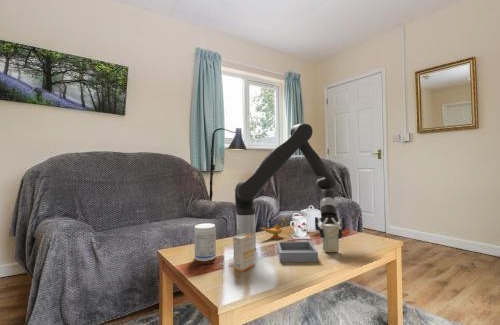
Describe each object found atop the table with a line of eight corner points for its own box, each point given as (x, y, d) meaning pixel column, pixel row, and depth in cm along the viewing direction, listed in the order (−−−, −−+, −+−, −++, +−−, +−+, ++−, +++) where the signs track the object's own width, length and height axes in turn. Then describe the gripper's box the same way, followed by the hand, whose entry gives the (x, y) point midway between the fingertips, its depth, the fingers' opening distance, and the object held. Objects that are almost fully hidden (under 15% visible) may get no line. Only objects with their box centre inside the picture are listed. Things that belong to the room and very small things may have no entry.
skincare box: (327, 252, 123) (327, 226, 123) (322, 249, 128) (322, 224, 127) (339, 251, 125) (339, 225, 125) (334, 248, 129) (333, 223, 129)
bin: (280, 262, 115) (279, 252, 115) (277, 250, 131) (277, 241, 131) (318, 261, 114) (317, 252, 114) (310, 249, 130) (310, 241, 130)
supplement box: (246, 262, 115) (245, 232, 115) (255, 265, 112) (254, 233, 112) (233, 269, 108) (232, 236, 108) (242, 271, 105) (241, 238, 105)
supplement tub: (197, 254, 126) (196, 223, 126) (217, 254, 126) (216, 222, 126) (192, 262, 117) (191, 228, 117) (214, 261, 116) (213, 227, 116)
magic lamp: (256, 238, 152) (256, 218, 152) (283, 234, 160) (283, 215, 160) (262, 241, 145) (262, 221, 145) (290, 236, 154) (289, 217, 154)
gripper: (313, 203, 135) (315, 233, 123) (343, 204, 132) (348, 234, 121) (313, 212, 140) (315, 241, 129) (342, 213, 137) (346, 242, 126)
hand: (331, 237), depth 125 cm, fingers closed on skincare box, 7 cm apart
